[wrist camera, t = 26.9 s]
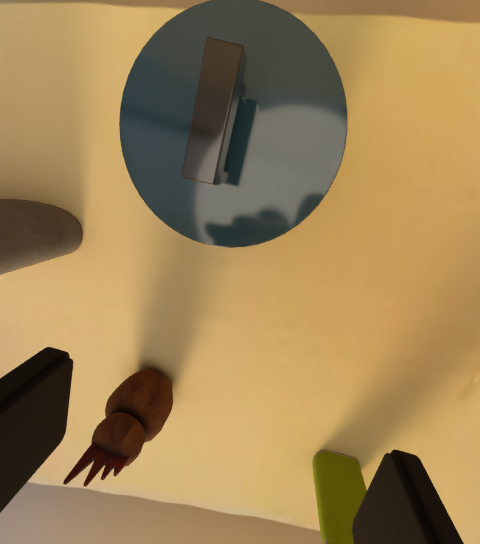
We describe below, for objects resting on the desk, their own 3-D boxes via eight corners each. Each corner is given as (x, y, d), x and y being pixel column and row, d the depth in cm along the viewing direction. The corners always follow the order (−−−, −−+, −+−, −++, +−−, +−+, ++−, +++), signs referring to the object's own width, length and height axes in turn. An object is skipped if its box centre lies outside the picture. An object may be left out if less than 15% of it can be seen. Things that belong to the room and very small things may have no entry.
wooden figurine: (121, 380, 41) (35, 484, 26) (147, 352, 39) (71, 447, 25) (160, 413, 41) (97, 533, 27) (188, 387, 40) (136, 500, 25)
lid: (378, 37, 18) (429, -41, 12) (305, 267, 22) (314, 298, 16) (144, -16, 19) (79, -116, 13) (114, 216, 23) (53, 226, 17)
